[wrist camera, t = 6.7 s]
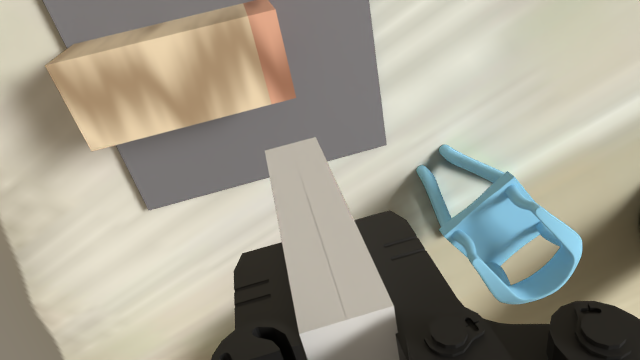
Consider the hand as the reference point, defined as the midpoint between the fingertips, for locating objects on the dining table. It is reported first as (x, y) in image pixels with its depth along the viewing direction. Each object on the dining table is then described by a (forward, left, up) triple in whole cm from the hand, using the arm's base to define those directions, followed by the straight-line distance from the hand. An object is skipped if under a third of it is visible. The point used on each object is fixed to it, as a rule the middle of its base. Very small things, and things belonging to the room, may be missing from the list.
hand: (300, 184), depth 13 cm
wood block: (0, -2, -16) cm, 16 cm away
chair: (-16, -14, -19) cm, 28 cm away
